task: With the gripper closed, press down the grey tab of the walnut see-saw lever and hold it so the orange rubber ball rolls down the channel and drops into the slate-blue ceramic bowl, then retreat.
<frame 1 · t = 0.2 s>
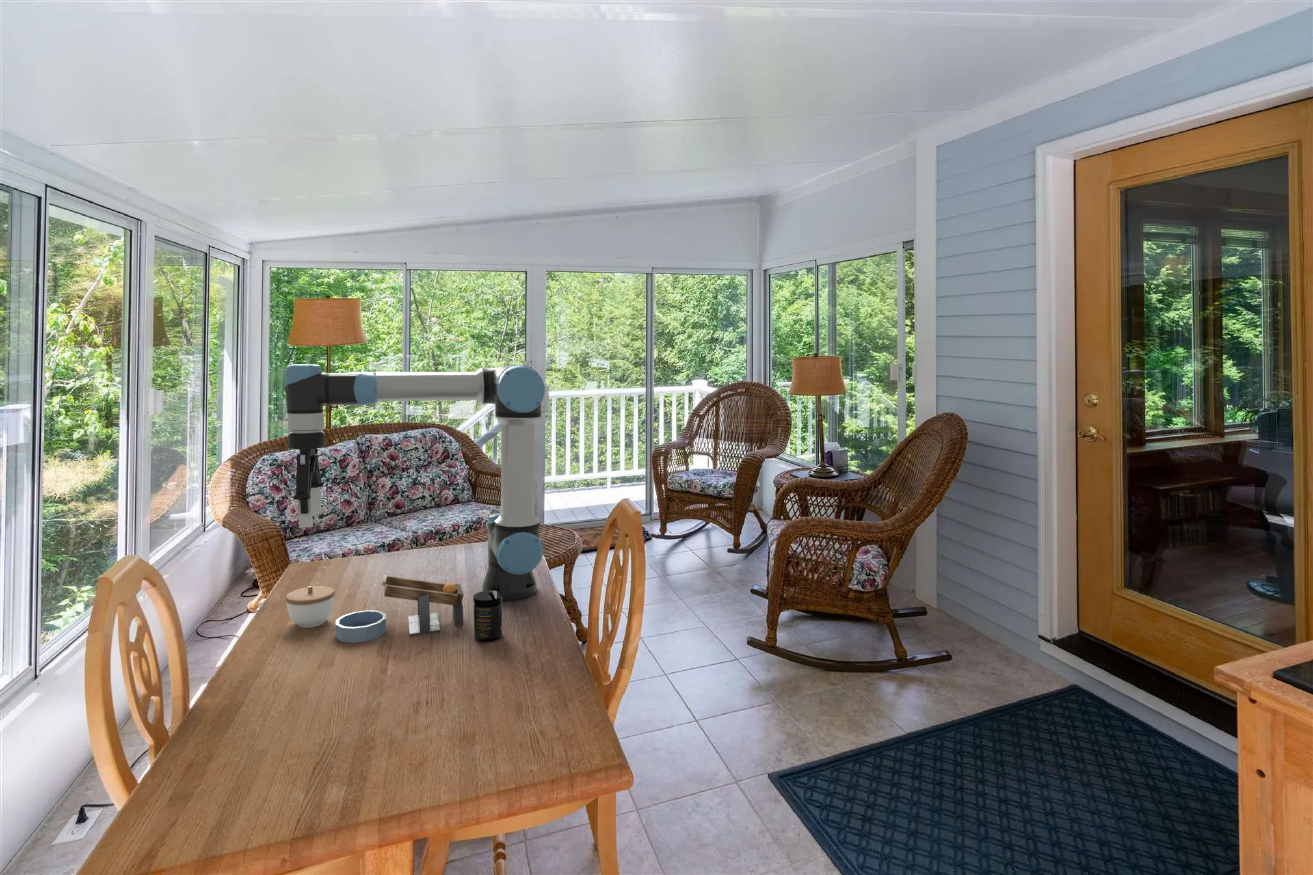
hand: (310, 520, 157), 28 cm above the table, fingers open, 13 cm apart
supplement container: (488, 638, 159), on the table
pivot stand: (423, 624, 166), on the table
bowl: (361, 632, 160), on the table
lever: (422, 586, 167), point 9 cm above the table, hinge at -15.0°, touching ball
ball: (449, 589, 167), point 8 cm above the table, tilted 20°, touching lever
lidded jar: (311, 623, 166), on the table
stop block: (458, 620, 169), on the table
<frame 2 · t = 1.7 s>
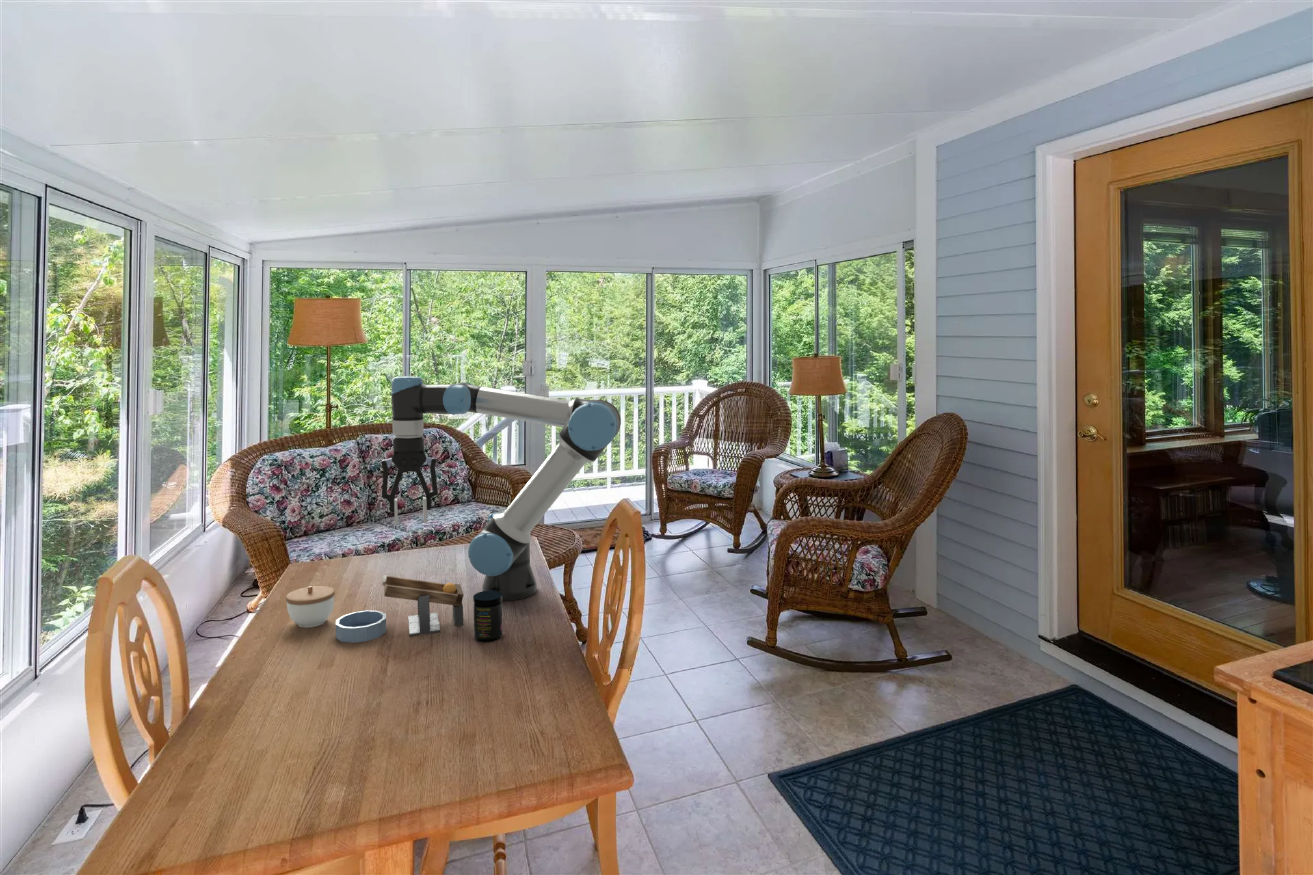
hand: (410, 522, 175), 23 cm above the table, fingers open, 6 cm apart
nothing on the table moved.
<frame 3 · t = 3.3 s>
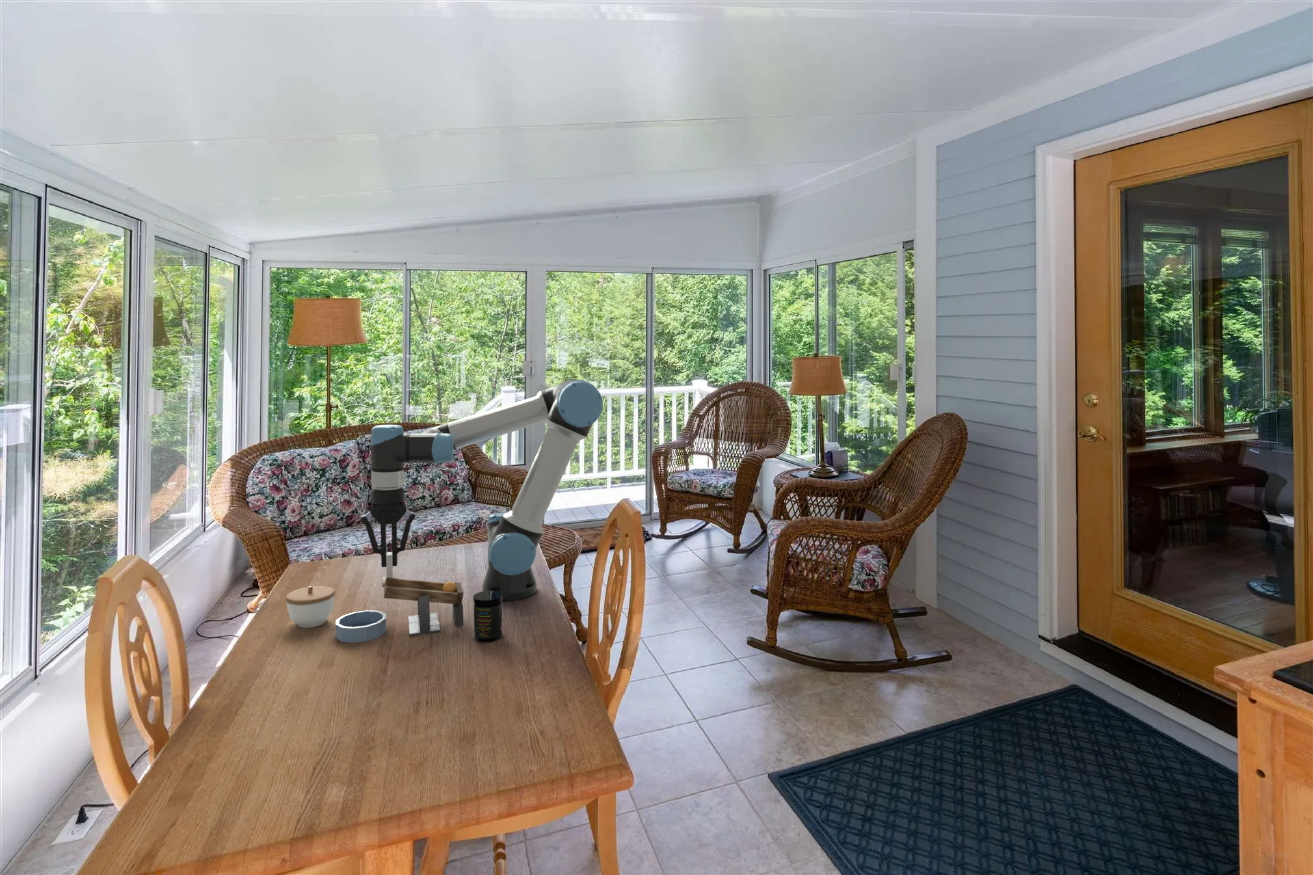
hand: (389, 578, 168), 11 cm above the table, fingers closed
lever: (422, 586, 167), point 9 cm above the table, hinge at -12.2°, touching ball, gripper
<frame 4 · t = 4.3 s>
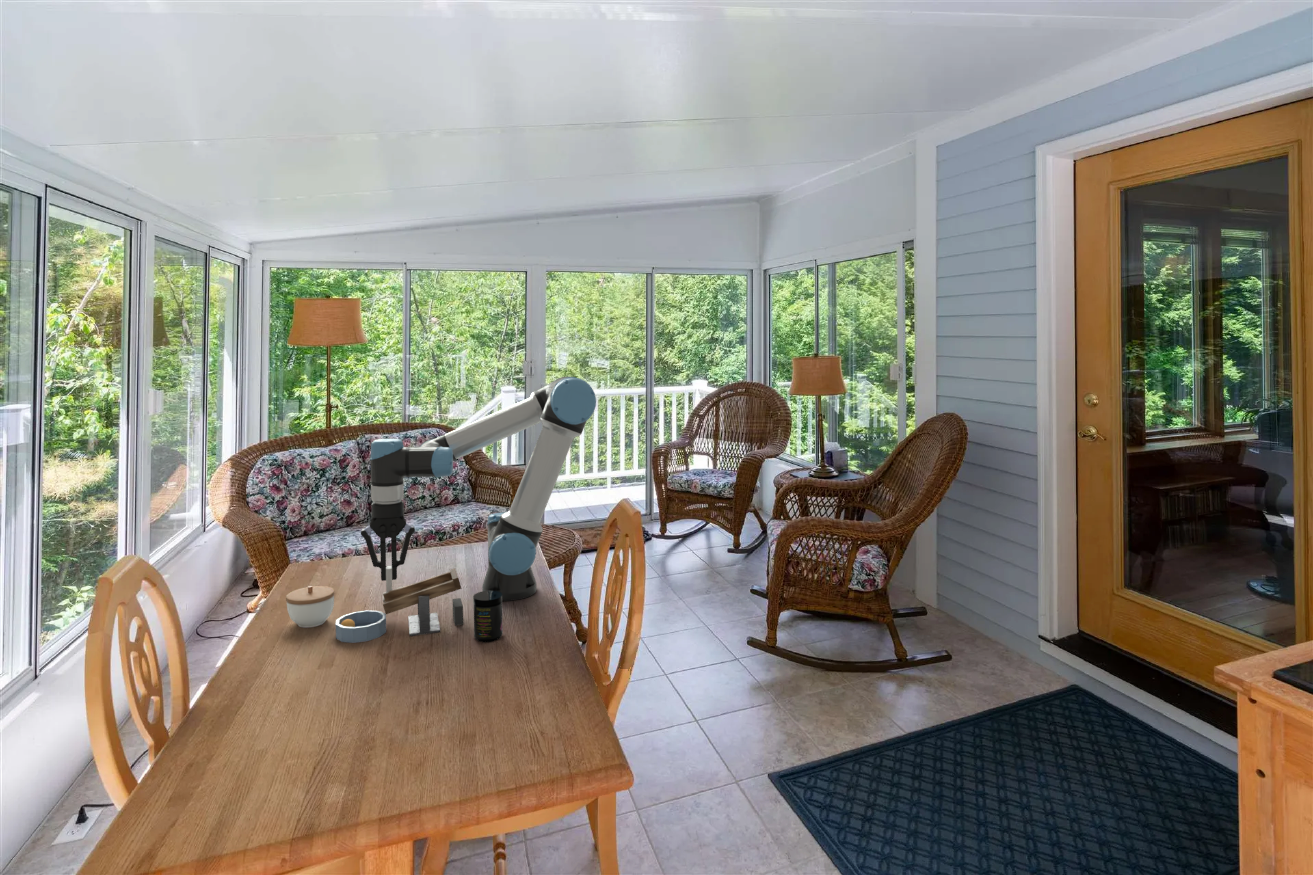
hand: (389, 592, 169), 7 cm above the table, fingers closed
lever: (420, 587, 167), point 9 cm above the table, hinge at 13.9°, touching gripper
ball: (347, 625, 159), point 2 cm above the table, tilted 172°, touching bowl
everything else where it was.
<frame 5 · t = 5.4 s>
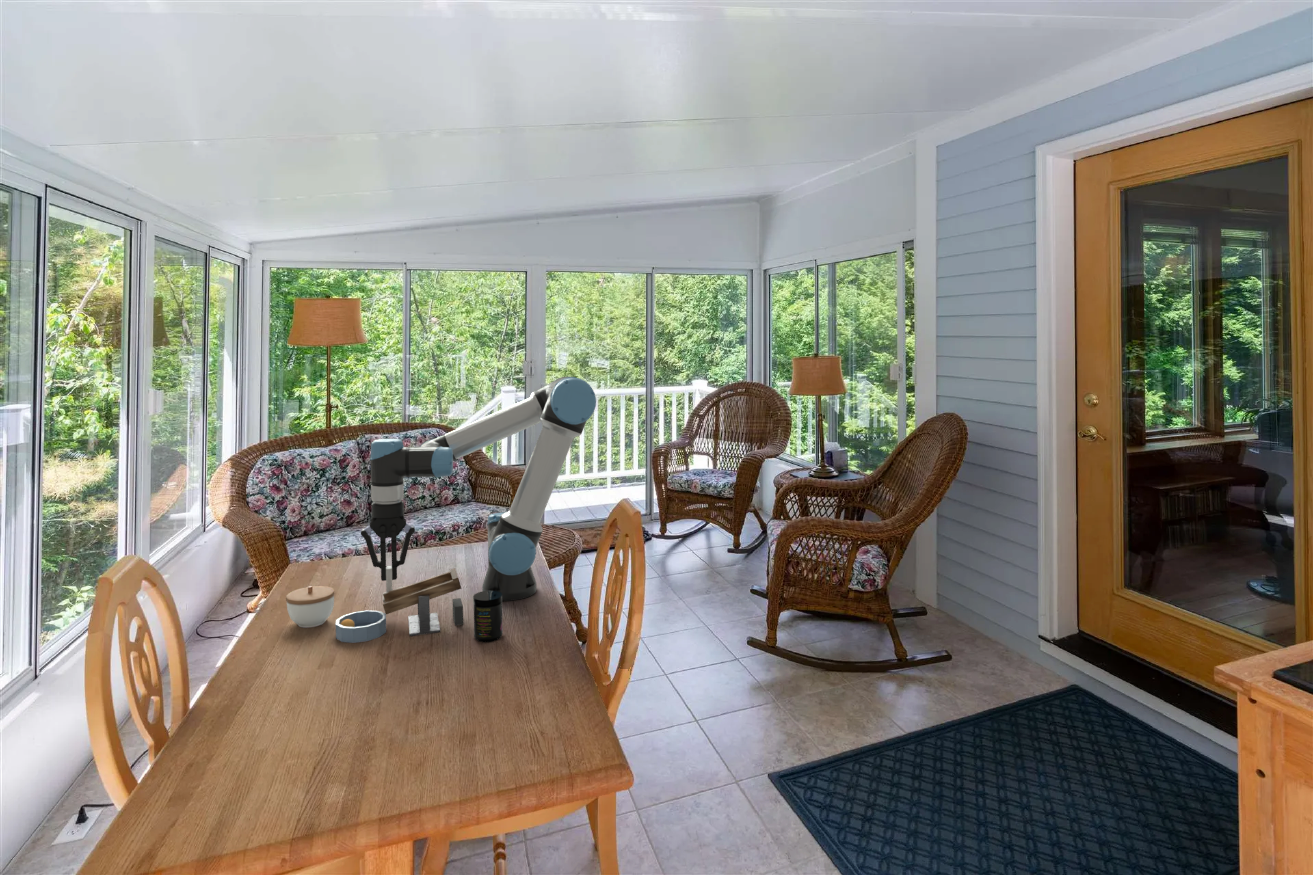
hand: (389, 592, 169), 7 cm above the table, fingers closed
nothing on the table moved.
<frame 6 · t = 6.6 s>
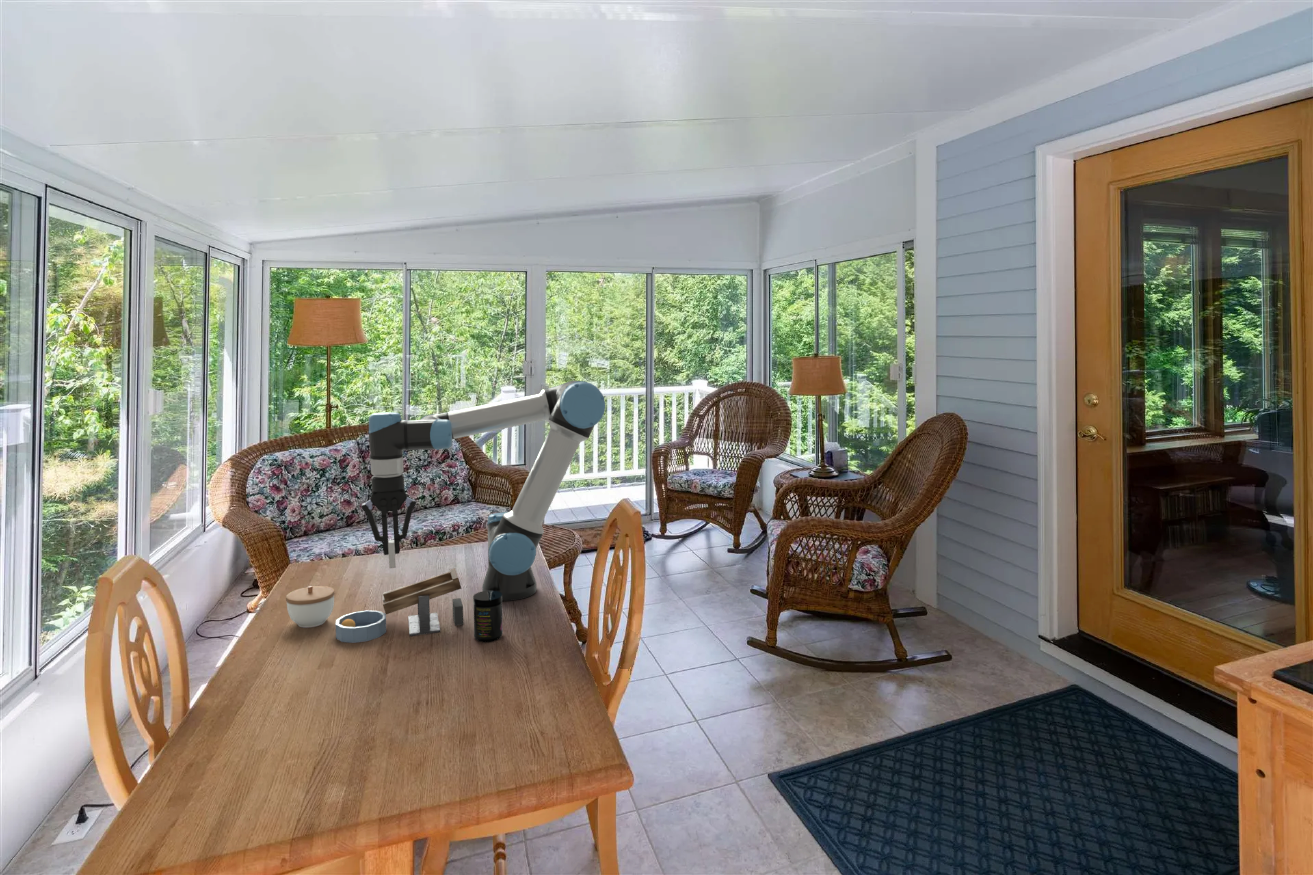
hand: (392, 566, 168), 14 cm above the table, fingers closed
lever: (420, 587, 167), point 9 cm above the table, hinge at 14.0°
ball: (348, 625, 159), point 2 cm above the table, tilted 169°, touching bowl
everything else where it was.
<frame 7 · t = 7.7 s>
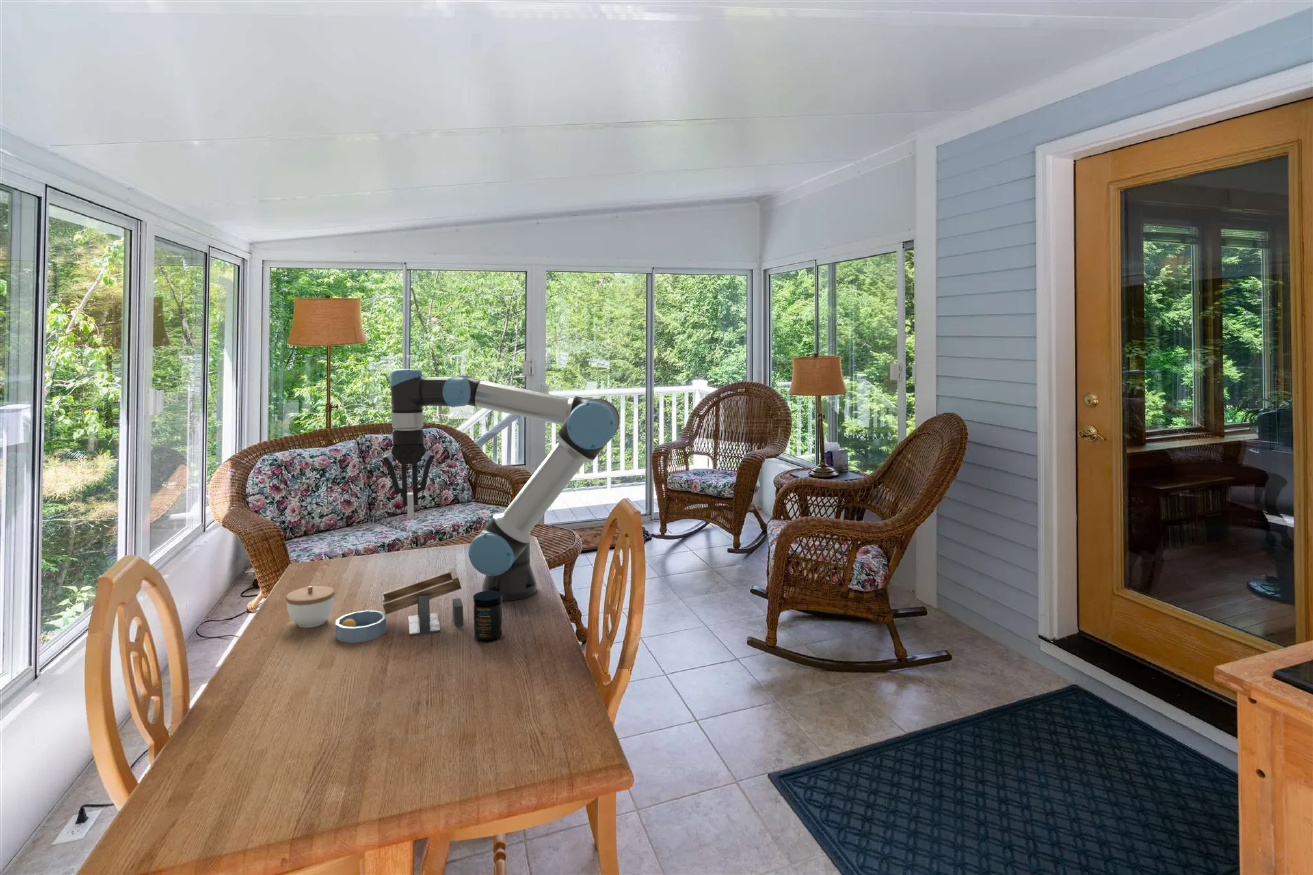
hand: (410, 517, 175), 24 cm above the table, fingers closed
ball: (348, 625, 159), point 2 cm above the table, tilted 163°, touching bowl
everything else where it was.
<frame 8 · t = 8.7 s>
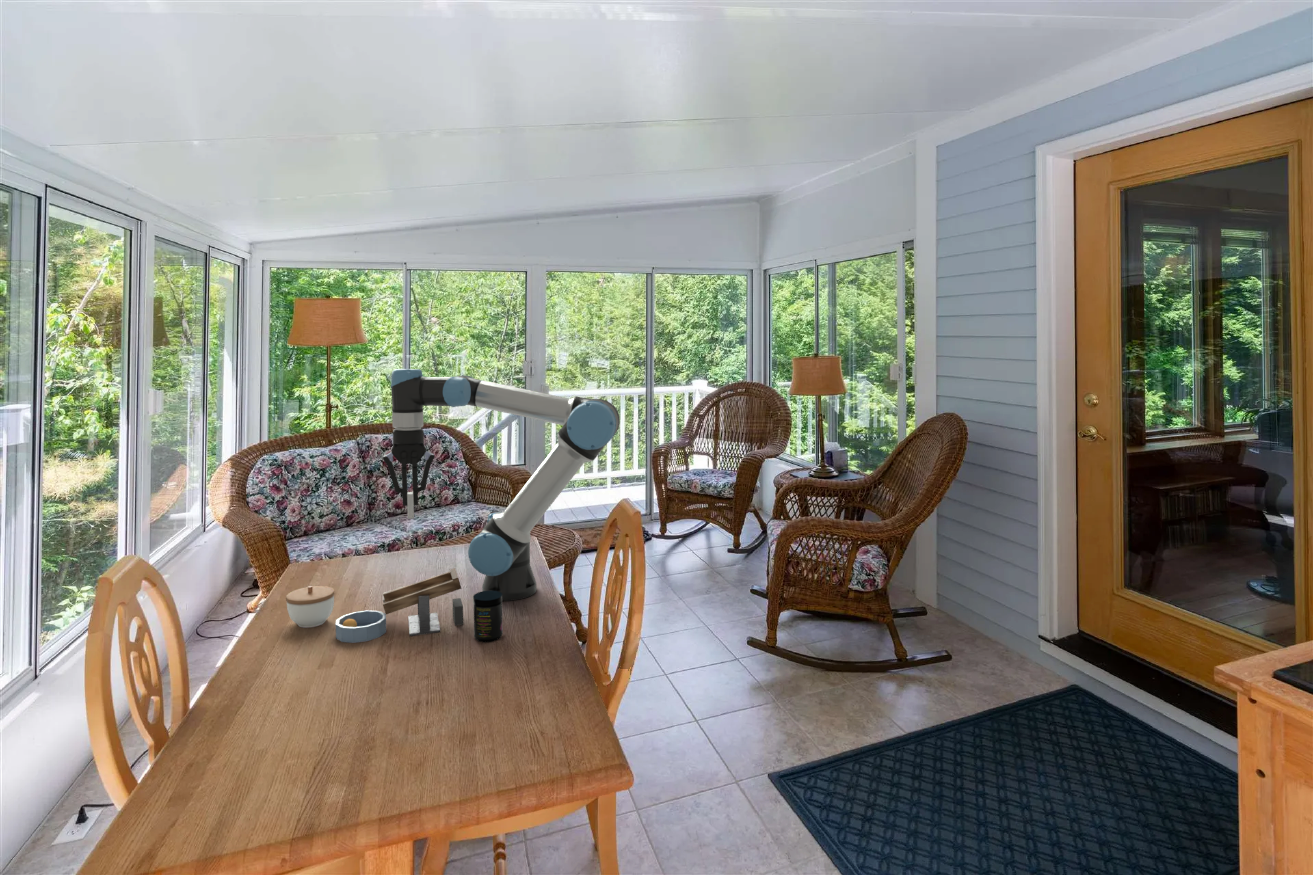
hand: (410, 517, 175), 24 cm above the table, fingers closed
ball: (349, 625, 159), point 2 cm above the table, tilted 158°, touching bowl
everything else where it was.
at the end: ball inside the target area on the bowl (2.5 cm from its centre), point 2.2 cm above the bowl's base; ball touching bowl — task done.
